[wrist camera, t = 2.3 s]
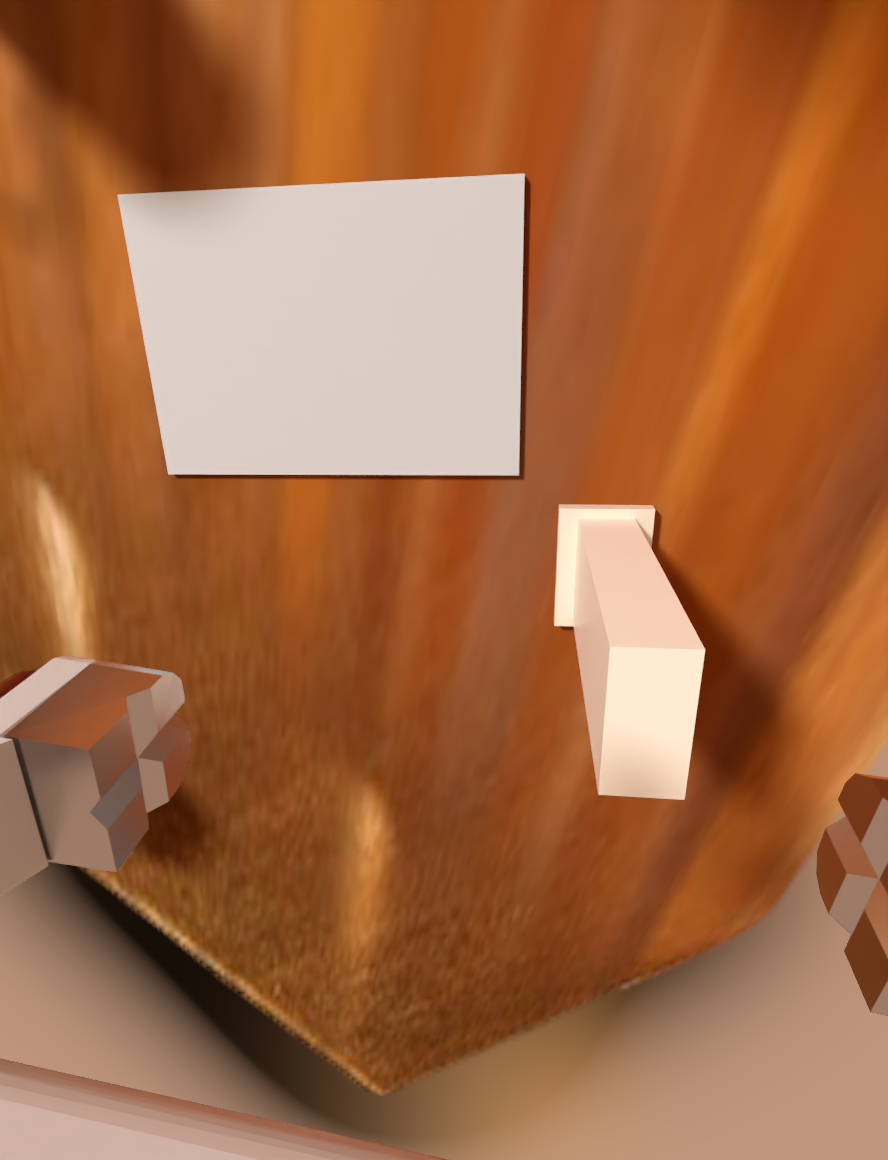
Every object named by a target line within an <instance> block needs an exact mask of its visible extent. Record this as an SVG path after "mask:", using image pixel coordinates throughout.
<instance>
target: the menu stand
mask: <svg viewBox="0 0 888 1160" xmlns="http://www.w3.org/2000/svg"><path fill="white" fill-rule="evenodd" d="M654 517H655V508H654V507H653V505H560V504H559V511H558V535H557V559H556V582H555V606H554V626H574V633H575V640H576V646H577V653H578V660H579V667H580V673H581V680H582V687H583V694H584V701H585V707H586V714H587V721H588V728H589V735H590V741H591V748H592V755H593V762H594V768H595V775H596V782H597V789H598V795H613V796H629V797H646V798H663V799H679V800H684V799H685V792H686V785H687V778H688V771H689V764H690V756H691V749H692V742H693V735H694V728H695V721H696V713H697V706H698V699H699V692H700V685H701V678H702V670H703V663H704V656H705V648H704V646H703V644H702V642H701V641H700V639H699V637H698V635H697V633H696V631H695V629H694V628H693V626H692V624H691V622H690V620H689V618H688V616H687V614H686V613H685V611H684V609H683V607H682V605H681V603H680V601H679V599H678V598H677V596H676V594H675V592H674V590H673V588H672V586H671V584H670V583H669V581H668V579H667V577H666V575H665V573H664V571H663V570H662V568H661V566H660V564H659V562H658V560H657V558H656V556H655V555H654V553H653V551H652V549H651V548H652V537H653V527H654Z"/></svg>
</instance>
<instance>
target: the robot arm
mask: <svg viewBox="0 0 888 1160" xmlns="http://www.w3.org/2000/svg"><path fill="white" fill-rule="evenodd" d="M184 702H185V698H184V692H183V687H182V681H181V679H180V678H179V677H177V676H176V675H175V674H173V673H171V672H165V671H159V670H154V669H148V668H142V667H136V666H130V665H124V664H118V663H112V662H107V661H97V660H93V659H86V658H80V657H73V656H62V657H56V658H53V659H52V660H51V661H49V662H48V663H47V664H45V665H44V666H43V667H41V668H40V669H39V670H37V671H36V672H35V673H33V674H32V675H31V676H29V677H28V678H27V679H26V680H24V681H23V682H22V683H20V684H19V685H18V686H16V687H15V688H14V689H12V690H11V691H10V692H8V693H7V694H6V695H4V696H3V697H2V698H0V896H1V895H3V894H5V893H6V892H8V891H9V890H11V889H12V888H14V887H16V886H17V885H19V884H20V883H22V882H23V881H25V880H27V879H28V878H29V877H31V876H33V875H34V874H36V873H38V872H39V871H41V870H42V869H44V868H45V867H47V866H48V862H54V863H61V864H67V865H74V866H80V867H87V868H93V869H100V870H106V871H113V872H117V871H118V870H119V868H120V867H121V866H122V864H123V863H124V862H125V860H126V859H127V857H128V856H129V855H130V853H131V852H132V851H133V849H134V848H135V847H136V845H137V844H138V843H139V841H140V840H141V839H142V837H143V836H144V835H145V833H146V832H147V831H148V829H149V823H148V814H147V813H148V812H150V811H152V810H153V809H155V808H157V807H159V806H161V805H163V804H165V803H167V802H169V801H170V799H171V798H172V796H173V795H174V793H175V792H176V790H177V789H178V788H179V786H180V785H181V783H182V780H183V777H184V775H185V772H186V769H187V767H188V764H189V758H190V748H191V742H190V733H189V728H188V727H187V726H186V725H185V724H184V722H183V721H182V720H181V719H180V717H179V716H178V715H177V714H176V712H177V711H178V710H179V708H180V707H181V706H182V704H183V703H184ZM838 801H839V803H840V805H841V807H842V809H843V811H844V813H845V815H846V816H845V817H844V818H842V819H840V820H839V821H837V822H835V823H834V824H832V825H831V826H829V827H827V828H826V829H825V831H824V834H823V837H822V840H821V842H820V845H819V848H818V851H817V878H818V883H819V888H820V893H821V896H822V899H823V901H824V904H825V906H826V908H827V911H828V913H829V915H831V916H832V917H833V918H834V919H835V920H836V921H837V922H838V923H839V924H840V925H841V926H842V927H843V928H845V929H846V930H847V931H848V932H849V933H850V934H851V937H850V939H849V941H848V943H847V946H846V948H845V951H844V952H845V954H846V956H847V958H848V961H849V963H850V965H851V968H852V970H853V972H854V975H855V977H856V979H857V982H858V984H859V986H860V989H861V991H862V993H863V996H864V998H865V1000H866V1003H867V1005H868V1007H869V1010H870V1012H872V1013H877V1014H882V1015H887V1016H888V778H885V777H878V776H871V775H864V774H857V773H855V774H854V775H853V776H852V777H851V778H850V779H849V780H848V781H847V782H846V783H845V785H844V787H843V790H842V792H841V794H840V796H839V798H838ZM0 1160H448V1159H443V1158H439V1157H435V1156H430V1155H426V1154H421V1153H417V1152H412V1151H408V1150H403V1149H399V1148H395V1147H390V1146H386V1145H381V1144H377V1143H373V1142H368V1141H364V1140H359V1139H355V1138H350V1137H346V1136H341V1135H337V1134H333V1133H328V1132H323V1131H319V1130H315V1129H310V1128H306V1127H301V1126H297V1125H293V1124H288V1123H284V1122H279V1121H275V1120H270V1119H265V1118H261V1117H257V1116H253V1115H248V1114H243V1113H239V1112H235V1111H230V1110H225V1109H221V1108H217V1107H213V1106H208V1105H204V1104H199V1103H195V1102H190V1101H186V1100H181V1099H177V1098H173V1097H168V1096H164V1095H159V1094H155V1093H150V1092H146V1091H142V1090H137V1089H133V1088H128V1087H124V1086H120V1085H115V1084H110V1083H106V1082H102V1081H97V1080H92V1079H88V1078H84V1077H80V1076H75V1075H71V1074H66V1073H62V1072H57V1071H53V1070H48V1069H44V1068H39V1067H35V1066H31V1065H26V1064H22V1063H18V1062H13V1061H9V1060H4V1059H0Z"/></svg>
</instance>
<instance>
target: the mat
mask: <svg viewBox="0 0 888 1160" xmlns="http://www.w3.org/2000/svg"><path fill="white" fill-rule="evenodd" d="M524 190H525V174H506V175H487V176H468V177H448V178H429V179H410V180H390V181H371V182H352V183H332V184H313V185H293V186H274V187H255V188H235V189H216V190H197V191H177V192H158V193H139V194H119V195H118V200H119V206H120V211H121V217H122V222H123V228H124V233H125V239H126V244H127V250H128V255H129V261H130V266H131V272H132V277H133V283H134V288H135V294H136V299H137V305H138V310H139V316H140V321H141V327H142V332H143V338H144V343H145V349H146V354H147V360H148V365H149V371H150V376H151V382H152V387H153V393H154V398H155V404H156V409H157V415H158V420H159V426H160V431H161V437H162V442H163V448H164V453H165V459H166V464H167V470H168V474H205V475H519V453H520V400H521V348H522V295H523V242H524Z"/></svg>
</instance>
